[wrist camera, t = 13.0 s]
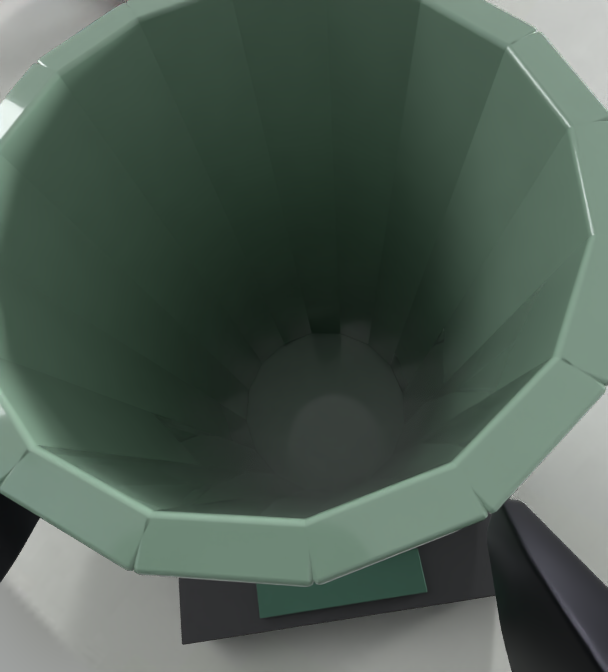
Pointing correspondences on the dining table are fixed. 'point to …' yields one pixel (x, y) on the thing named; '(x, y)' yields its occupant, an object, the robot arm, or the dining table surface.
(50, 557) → the dining table surface
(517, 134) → the tumbler
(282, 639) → the dining table surface
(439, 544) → the scale
